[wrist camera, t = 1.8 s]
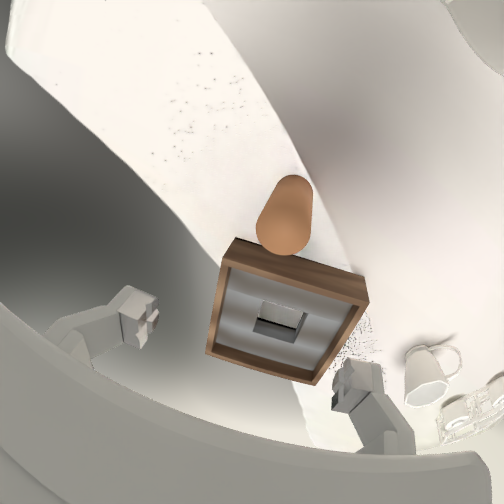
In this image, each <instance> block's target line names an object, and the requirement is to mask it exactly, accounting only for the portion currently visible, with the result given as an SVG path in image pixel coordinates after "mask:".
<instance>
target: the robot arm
mask: <svg viewBox="0 0 504 504" xmlns="http://www.w3.org/2000/svg"><path fill="white" fill-rule="evenodd" d="M440 1H441V2H442V3H443V4H444V5H445V6H446V7H447V9H448V10H449V12H450V14H451V16H452V18H453V20H454V22H455V24H456V25H457V27H458V29H459V31H460V32H461V34H462V36H463V37H464V39H465V40H466V42H467V43H468V45H469V46H470V47H471V49H472V50H473V51H474V52H475V53H476V55H477V56H478V57H479V58H480V59H481V60H482V61H483V62H484V63H485V64H486V65H487V66H488V67H490V68H491V69H492V70H494V71H495V72H496V73H498V74H500V75H502V76H504V0H440ZM158 305H159V299H158V298H157V297H155V296H152V295H150V294H148V293H145V292H143V291H141V290H138V289H136V288H133V287H131V286H129V285H127V286H125V287H124V288H123V289H122V290H121V291H120V292H119V293H118V294H117V295H116V296H115V297H114V298H113V300H112V301H111V302H110V303H109V304H108V305H107V306H104V305H102V306H99V307H96V308H92V309H89V310H86V311H83V312H79V313H76V314H72V315H69V316H66V317H63V318H59V319H58V320H57V321H56V322H55V323H54V324H53V325H52V326H51V327H50V328H49V329H48V330H47V331H46V332H45V333H44V334H43V335H42V336H41V335H40V334H39V333H37V332H36V331H34V330H33V329H32V328H31V327H29V326H28V325H27V324H26V323H24V322H23V321H22V320H21V319H19V318H18V317H17V316H16V315H15V314H13V313H12V312H11V311H10V310H9V309H7V308H6V307H5V306H4V305H3V304H2V303H1V302H0V504H492V490H491V489H492V487H491V476H490V472H489V469H488V467H487V466H486V464H485V463H484V461H483V460H482V459H481V457H480V456H479V455H478V454H477V453H476V452H475V451H462V452H453V453H442V454H427V455H416V446H415V436H414V431H413V429H412V428H411V427H410V425H409V424H408V422H407V421H406V420H405V418H404V417H403V415H402V414H401V413H400V411H399V410H398V409H397V407H396V406H395V404H394V403H393V402H392V400H391V399H390V398H389V396H388V395H386V394H384V385H383V377H382V370H381V365H380V364H377V363H372V362H367V361H362V360H358V359H353V358H347V359H346V360H345V361H344V363H343V368H340V369H339V370H338V371H337V373H336V374H335V377H334V379H333V384H332V390H333V391H334V393H335V394H334V396H333V397H332V406H331V410H332V411H337V412H342V413H348V414H349V417H350V419H351V421H352V423H353V425H354V427H355V429H356V431H357V433H358V435H359V437H360V439H361V441H362V443H363V446H364V447H363V448H361V449H360V450H358V451H357V452H356V453H349V452H339V451H331V450H324V449H317V448H310V447H304V446H299V445H294V444H289V443H284V442H279V441H274V440H270V439H266V438H262V437H258V436H254V435H250V434H246V433H242V432H239V431H236V430H233V429H229V428H226V427H223V426H220V425H216V424H213V423H210V422H207V421H204V420H202V419H199V418H196V417H193V416H191V415H188V414H185V413H183V412H180V411H178V410H175V409H173V408H170V407H168V406H166V405H163V404H161V403H158V402H156V401H154V400H152V399H149V398H147V397H145V396H143V395H141V394H139V393H137V392H135V391H132V390H131V389H128V388H127V387H125V386H122V385H120V384H119V383H117V382H115V381H113V380H111V379H109V378H108V377H106V376H104V375H102V374H100V373H99V372H97V371H95V370H94V367H93V365H92V362H91V359H92V358H94V357H96V356H99V355H101V354H103V353H105V352H107V351H109V350H111V349H113V348H115V347H117V346H119V345H121V344H123V342H124V343H126V344H128V345H131V346H133V347H135V348H138V349H141V348H142V347H143V345H144V344H145V342H146V341H147V334H149V333H152V332H153V330H154V329H155V327H156V325H157V323H158V319H159V312H158V310H157V309H156V308H157V307H158Z"/></svg>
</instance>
